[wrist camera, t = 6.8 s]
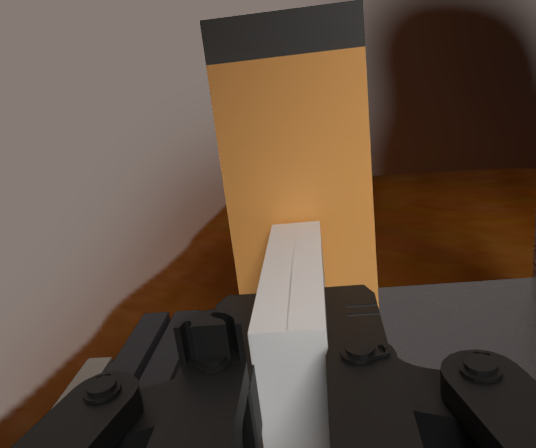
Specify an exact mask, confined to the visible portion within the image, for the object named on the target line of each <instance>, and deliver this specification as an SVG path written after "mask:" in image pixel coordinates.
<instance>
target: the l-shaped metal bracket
mask: <svg viewBox="0 0 536 448" xmlns="http://www.w3.org/2000/svg"><path fill="white" fill-rule="evenodd" d="M378 299H379V311H380V315H381V319H382V323H383V326H384V330H385V334H386V337H387V341H388V344H390V345H392V347H393V348H394V350H395V351H396V353H397V357H398V358H399V359H401V360H403V361H405V362H407V363H410V364H412V365H415V366H420V367H425V368H431V369H438V370H440V368H441V363H442V361H443V360H444V359H445V358H446V357H447V356H448V355H449V354H452V353H455V352H458V351H461V350H473V349H477V350H486V351H491V352H494V353H497V354H500V355H503V356H506V357H507V358H509V359H510V360H512V361H513V362H515V363H517V364H518V365H519V366H520V367H521V368H522V369H523V370H525V371H526V372H527V373H528V374H529V375H530V376H531V377H533V378H534V379H535V380H536V216H535V236H534V257H533V278H518V279H504V280H489V281H474V282H459V283H444V284H430V285H415V286H400V287H385V288H378ZM260 448H264V446H263V439H262V434H261V442H260Z"/></svg>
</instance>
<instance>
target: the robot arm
mask: <svg viewBox="0 0 536 448" xmlns="http://www.w3.org/2000/svg"><path fill="white" fill-rule="evenodd" d="M173 330H174V335H175V340H176V345H177V351H178V356H179V361H180V367H179V369H178V372H177V374H176V377H175V378H174V379H172V380H169V381H166V382H163V383H159V384H156V385H152V386H148V387H144V388H140V387H139V382H138V379H137V378H136V377H135V376H134V375H133V374H132V373H128V372H124V371H109V372H105V373H100V374H97V375H95V376H93V377H91V378H89V379H86V380H84V381H83V382H81V383H80V384H79V385H77V386H76V387H75V388H73V389H72V390H71V391H70V392H69V393H68V394H67V395H66V396H65V397H64V398H63V399H62V400H61V401H60V402H58V403H57V404H56V405H55V406H54V407H53V408H52V409H51V410H50V411H49V412H48V413H47V414H46V415H45V416H44V417H43V418H42V419H40V420H39V421H38V422H37V423H36V424H35V425H34V426H33V427H32V428H31V429H30V430H29V431H28V432H27V433H26V434H25V435H24V436H22V437H21V438H20V439H19V440H18V441H17V442H16V443H15V444H14V445H13V446H12V447H11V448H260V442H261V434H262V439H263V446H264V448H536V380H535V379H534V378H533V377H531V376H530V375H529V374H528V373H527V372H526V371H525V370H523V369H522V368H521V367H520V366H519V365H518V364H517V363H515V362H513V361H512V360H510V359H509V358H507V357H506V356H503V355H500V354H497V353H494V352H491V351H486V350H477V349H473V350H461V351H458V352H455V353H452V354H449V355H448V356H447V357H446V358H445V359H444V360H443V361H442V363H441V368H440V370H438V369H431V368H425V367H420V366H415V365H412V364H410V363H407V362H405V361H403V360H401V359H399V358H398V357H397V353H396V351H395V350H394V348H393V347H392V345H390V344H388V341H387V337H386V334H385V330H384V326H383V323H382V319H381V315H380V311H379V308H378V305H377V300H376V297H375V293H374V292H373V291H371V290H370V289H369V288H368V287H366V286H365V285H364V284H363V285H349V286H334V287H325V275H324V264H323V252H322V241H321V230H320V221H311V222H299V223H287V224H275V225H272V227H271V231H270V236H269V240H268V244H267V249H266V253H265V258H264V262H263V267H262V271H261V276H260V280H259V285H258V289H257V293H255V294H241V295H228V296H226V297H225V298H224V299H223V300H222V301H221V302H220V303H218V304H217V305H216V308H215V309H212V310H206V311H200V312H197V313H194V314H191V315H188V316H187V317H185V318H183V319H182V320H180V321H179V322H178V323H177V324H176V325H175V326H174V327H173Z"/></svg>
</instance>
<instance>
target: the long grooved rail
mask: <svg viewBox="0 0 536 448" xmlns="http://www.w3.org/2000/svg"><path fill="white" fill-rule="evenodd" d="M197 312H200V310H191V311H176V312H175V313H174V315H173V317H172V319H171V321H170V317H169V312H161V313H146V314H144V315H143V316H142V318H141V319H140V321H139V323H138V324H137V326H136V327H135V329H134V330H133V332H132V333H131V335H130V336H129V338H128V340H127V341H126V343H125V344H124V346H123V347H122V349H121V350H120V352H119V354H118V355H117V357H116V358H115V360H114V361H113V360H112V357H105V358H88V360H87V361H86V362H85V364H84V365H83V366H82V368H81V369H80V370H79V372H78V373H77V375H76V376H75V377H74V379H73V380H72V381H71V383H70V384H69V385H68V387H67V388H66V390H65V391H64V392H63V394H62V395H61V396H60V398H59V399H58V400H57V402H56V403H55V404H54V406H55V405H56V404H57V403H58V402H60V401H61V400H62V399H63V398H64V397H65V396H66V395H67V394H68V393H69V392H70V391H71V390H72V389H73V388H75V387H76V386H77V385H79V384H80V383H81V382H83V381H84V380H86V379H89V378H91V377H93V376H95V375H97V374H100V373H105V372H109V371H124V372H128V373H132V374H133V375H134V376H135V377H136V378H137V379H138V382H139V387H140V388H144V387H148V386H152V385H156V384H159V383H163V382H166V381H169V380H172V379H174V378H175V377H176V374H177V372H178V369H179V367H180V361H179V356H178V351H177V345H176V340H175V335H174V330H173V327H174V326H175V325H176V324H177V323H178V322H179V321H180V320H182V319H183V318H185V317H187V316H188V315H191V314H194V313H197ZM54 406H53V407H54ZM53 407H52V408H53Z"/></svg>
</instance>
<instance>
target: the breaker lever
mask: <svg viewBox="0 0 536 448" xmlns="http://www.w3.org/2000/svg"><path fill="white" fill-rule="evenodd" d="M200 25H201V32H202V39H203V46H204V53H205V60H206V67H207V74H208V81H209V87H210V95H211V102H212V109H213V116H214V123H215V129H216V136H217V143H218V150H219V157H220V163H221V171H222V178H223V185H224V192H225V198H226V206H227V213H228V220H229V227H230V234H231V240H232V247H233V254H234V261H235V268H236V275H237V282H238V289H239V295H241V294H255V293H257V289H258V285H259V280H260V276H261V271H262V267H263V262H264V258H265V253H266V249H267V244H268V240H269V236H270V231H271V227H272V225H275V224H287V223H299V222H311V221H320V230H321V241H322V252H323V264H324V275H325V287H334V286H349V285H363V284H364V285H365V286H366V287H368V288H369V289H370V290H371V291H373V292H374V293H375V297H376V300H377V305H378V308H379V299H378V280H377V261H376V243H375V224H374V205H373V186H372V169H371V148H370V129H369V112H368V111H369V110H368V91H367V74H366V73H367V72H366V53H365V34H364V16H363V0H355V1H348V2H340V3H332V4H324V5H316V6H309V7H302V8H294V9H286V10H278V11H271V12H263V13H255V14H247V15H240V16H232V17H224V18H217V19H209V20H201V21H200Z"/></svg>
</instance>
